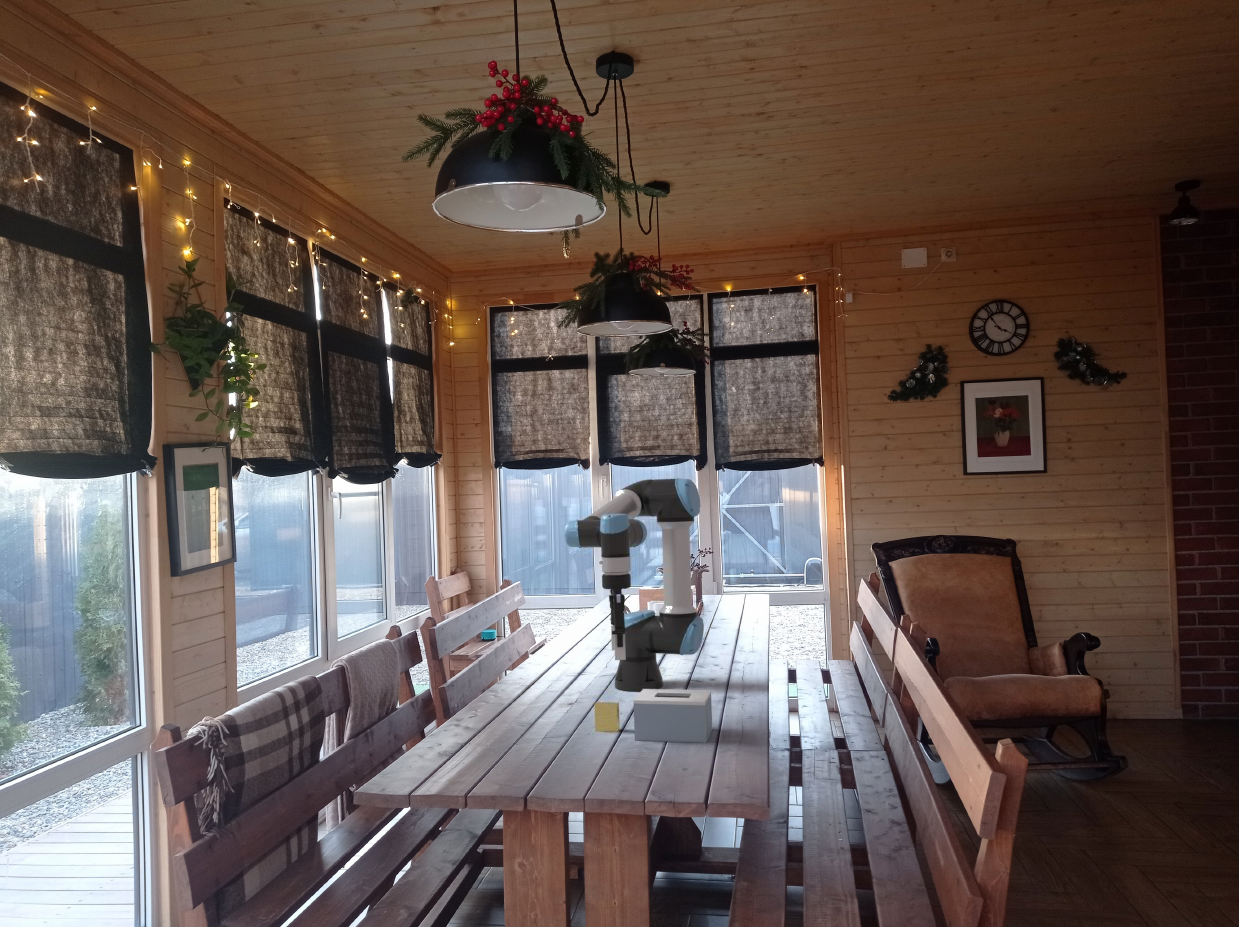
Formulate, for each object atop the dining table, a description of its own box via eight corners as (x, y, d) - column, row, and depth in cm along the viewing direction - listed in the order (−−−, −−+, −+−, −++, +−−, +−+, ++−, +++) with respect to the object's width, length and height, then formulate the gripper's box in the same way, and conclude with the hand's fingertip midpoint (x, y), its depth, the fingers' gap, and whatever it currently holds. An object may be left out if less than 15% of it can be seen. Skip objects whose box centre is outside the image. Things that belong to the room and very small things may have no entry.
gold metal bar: (597, 728, 242) (596, 702, 242) (619, 729, 240) (618, 702, 240) (595, 731, 239) (594, 704, 239) (617, 731, 238) (616, 704, 238)
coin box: (644, 726, 242) (643, 688, 242) (712, 729, 238) (711, 690, 238) (634, 740, 230) (633, 700, 230) (706, 742, 226) (704, 702, 226)
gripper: (599, 569, 251) (601, 646, 251) (604, 578, 227) (606, 664, 226) (626, 568, 252) (629, 645, 252) (634, 577, 227) (636, 663, 227)
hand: (618, 654), depth 239 cm, fingers open, 13 cm apart
